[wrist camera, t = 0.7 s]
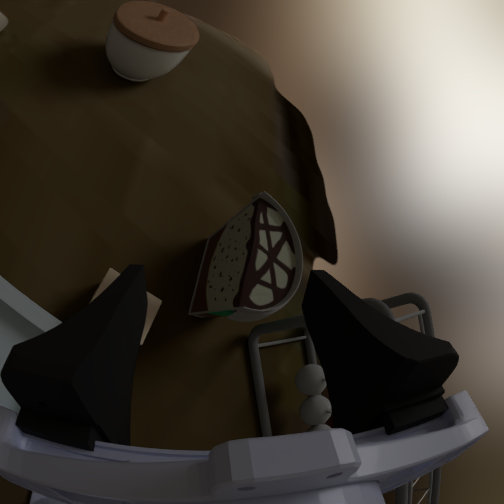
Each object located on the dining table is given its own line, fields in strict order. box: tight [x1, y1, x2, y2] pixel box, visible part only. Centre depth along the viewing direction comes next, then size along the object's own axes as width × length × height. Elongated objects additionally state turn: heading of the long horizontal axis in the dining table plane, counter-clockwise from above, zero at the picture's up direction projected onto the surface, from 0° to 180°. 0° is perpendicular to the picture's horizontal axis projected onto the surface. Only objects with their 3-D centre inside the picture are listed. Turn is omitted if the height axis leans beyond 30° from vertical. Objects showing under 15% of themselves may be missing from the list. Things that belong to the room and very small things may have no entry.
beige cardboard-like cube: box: [89, 268, 162, 345], centre depth 23 cm, size 4×5×5 cm
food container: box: [188, 191, 303, 322], centre depth 29 cm, size 12×6×10 cm, turn 169°
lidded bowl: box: [105, 1, 199, 81], centre depth 31 cm, size 13×13×11 cm
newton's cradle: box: [248, 293, 441, 504], centre depth 25 cm, size 30×10×18 cm, turn 11°
